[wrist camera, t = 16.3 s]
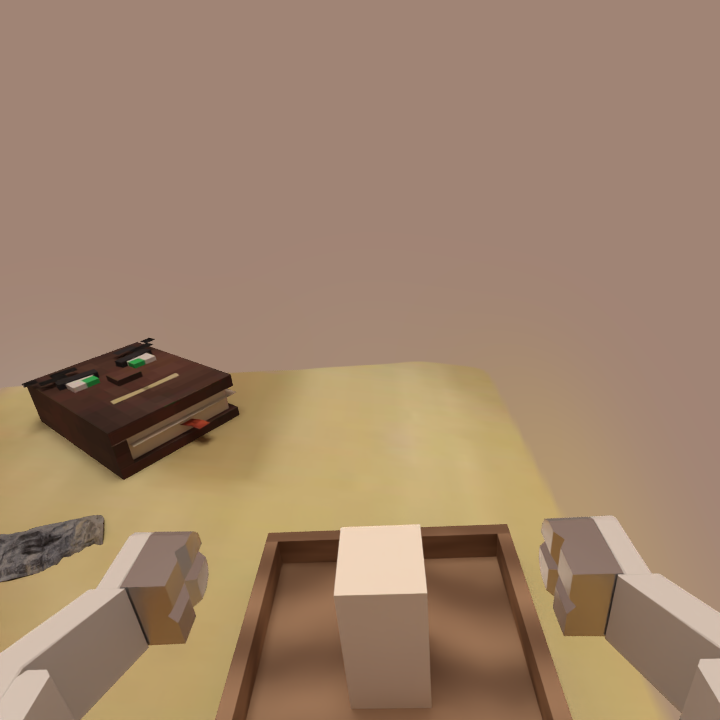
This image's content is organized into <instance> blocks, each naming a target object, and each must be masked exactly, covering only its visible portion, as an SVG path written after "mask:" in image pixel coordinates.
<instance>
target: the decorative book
mask: <svg viewBox="0 0 720 720" xmlns="http://www.w3.org/2000/svg"><path fill="white" fill-rule="evenodd" d="M152 340H154V339H152V338H148V339H145V340H143V341H141V342H144V343H145V344H141V343H138V342H136V343H134V344H131V345H128V346H125V347H123V348H120V349H117V350H115V351H112V352H109V353H106V354H103V355H101V356H98V357H95V358H92V359H90V360H87V361H84V362H81V363H78V364H76V365H73V366H70V367H67V368H65V369H62V370H59V371H57V372H54V373H51V374H48V375H45V376H43V377H40V378H37V379H34V380H31V381H29V382H26V383H24V384H22V386H23V387H27V388H28V390H29V392H30V395H31V397H32V400H33V402H34V404H35V407H36V409H37V412H38V414H39V416H40V419H41V421H42V422H44V423H45V424H46V425H48V426H49V427H51V428H52V429H53V430H55V431H56V432H58V433H59V434H60V435H62V436H63V437H65V438H66V439H67V440H69V441H70V442H72V443H73V444H74V445H76V446H77V447H79V448H80V449H81V450H83V451H84V452H86V453H87V454H88V455H90V456H91V457H93V458H94V459H95V460H97V461H98V462H100V463H101V464H102V465H104V466H105V467H107V468H108V469H109V470H111V471H112V472H114V473H115V474H116V475H118V476H119V477H121V478H122V479H123V480H125V479H126V478H128V477H130V476H132V475H133V474H135V473H137V472H139V471H140V470H142V469H144V468H146V467H148V466H149V465H151V464H153V463H155V462H156V461H158V460H160V459H162V458H163V457H165V456H167V455H169V454H171V453H172V452H174V451H176V450H178V449H179V448H181V447H183V446H185V445H187V444H188V443H190V442H192V441H194V440H195V439H197V438H199V437H201V436H202V435H204V434H206V433H208V432H210V431H211V430H213V429H215V428H217V427H218V426H220V425H222V424H224V423H226V422H227V421H229V420H231V419H233V418H234V417H236V416H238V415H239V411H238V407H236V406H234V405H232V404H229V403H228V402H227V397H228V396H230V395H232V394H234V393H235V391H232V390H229V389H227V388H229V387H231V386H233V384H232V379H231V375H230V374H228V373H225V372H222V371H219V370H216V369H213V368H210V367H207V366H204V365H202V364H199V363H196V362H193V361H190V360H187V359H184V358H181V357H178V356H175V355H173V354H170V353H167V352H164V351H161V350H158V349H155V348H152V347H150V345H152V344H149V343H148V342H150V341H152Z"/></svg>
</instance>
